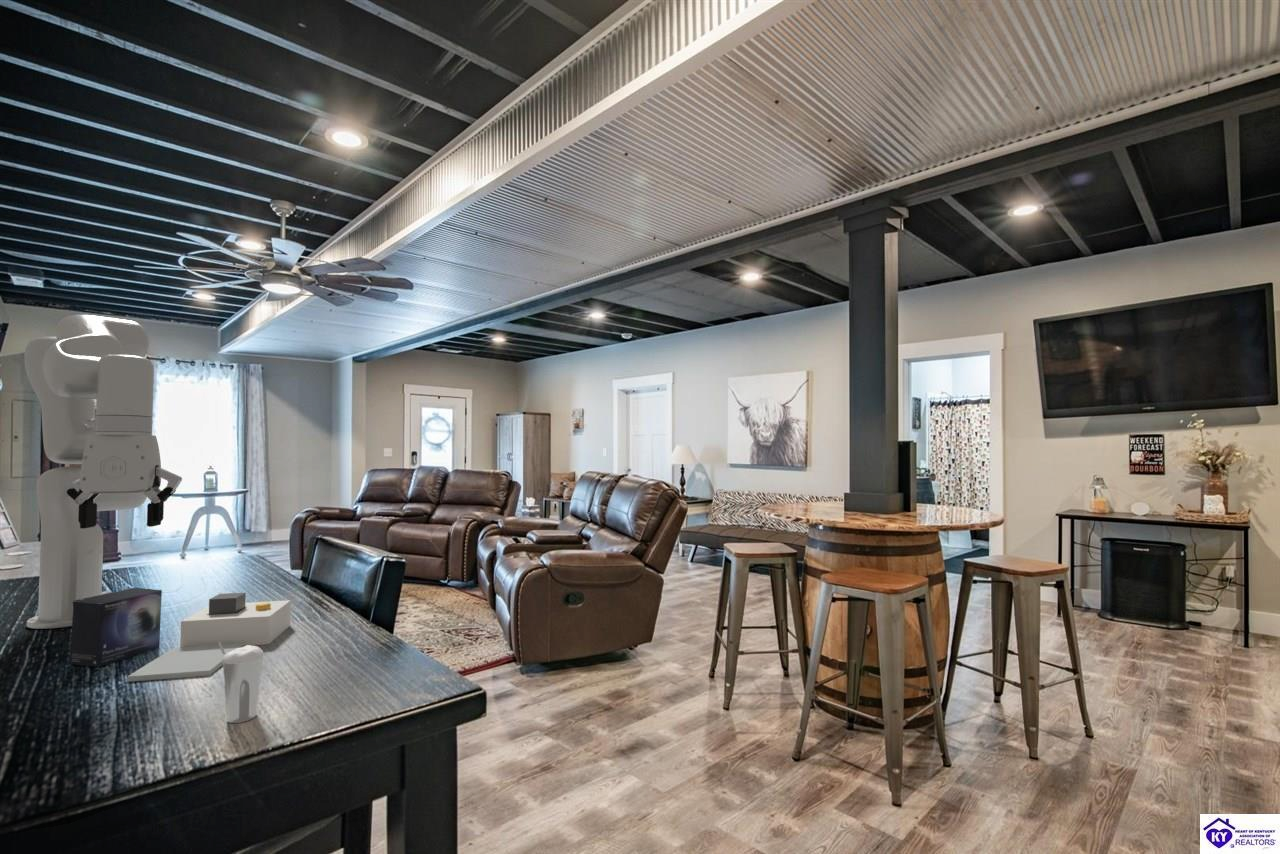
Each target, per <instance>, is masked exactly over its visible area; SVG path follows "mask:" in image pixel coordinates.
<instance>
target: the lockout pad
mask: <svg viewBox="0 0 1280 854" xmlns="http://www.w3.org/2000/svg"><path fill="white" fill-rule="evenodd" d="M221 645H222V647H223V649H224V651H225V654H227V653H228V652H230V651H233V650H234V649H236V648H242V647H244V646H245V643H235V644H221ZM223 657H224V656H223V653H222V651H221V649H220V646H219V645H204V646H188V647H180V646H174V647H172V648H171V649H169V650H168V651H166V652H164V653H163V654H161V655H160V656H158V657H156V658H155V659H153V660H151V661H149V662H148V663H146V664H145V665H143V666H142V667H141V668H138V669H137V670H135V671H133V672H132V673H131V674H129V675H127V677H126V680H127V683H129V682H141V681H143V682H144V681H156V680H157V681H158V680H169V679H180V678H183V679H184V678H195V677H209V676H211V675H213V674H214V673H215V672H216V671H218V669H220V668H221V667H223V661H222V659H223Z"/></svg>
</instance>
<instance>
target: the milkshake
mask: <svg viewBox="0 0 1280 854" xmlns="http://www.w3.org/2000/svg"><path fill="white" fill-rule="evenodd" d="M218 644H219V646H220V649H221V651H222V653H223V656H224V657H223V659H222V661H223V665H222V668H223V669H222V670H223V681H224V682H223V683H224V695H225V697H224V698H225V713H226V714H225V715H226V722H228V723H230V724H240V723H241V724H242V723H244V722H245V723H246V722H249V721H250V720H252V719H255V718H256V716H257V714H258V713H257V711H258V701H259V693H260V682H261V676H262V669H263V667H262V666H263V660H264V659H263V658H264V651H263V650H262V649H261V647H259V646H258V645H246V646H244V647H242V648H236V649H234V650H233V651H230V652H228V653H227V654H225V651H224V649H223V647H222V645H221V642H218Z"/></svg>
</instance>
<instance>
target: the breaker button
mask: <svg viewBox="0 0 1280 854" xmlns="http://www.w3.org/2000/svg"><path fill="white" fill-rule="evenodd" d="M246 596H247V595H246V592H232V593H231V592H230V593H218V594H217V595H215V596H213V597H211V598H210V599H209V600H208V606H209V615H218V614H236V613H239V612H240V611H242V610H243V609H245V603H246V598H247V597H246Z"/></svg>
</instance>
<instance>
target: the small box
mask: <svg viewBox="0 0 1280 854" xmlns="http://www.w3.org/2000/svg"><path fill="white" fill-rule="evenodd" d="M162 595H163V591H162V589H152V588H145V587H144V588H142V587H131V588H127V589H122V590H117V591H112V592H109V593H107V594H103V595H98V596H93V597H88V598H84V599H79V600H74V601H73V618H72V626H71V638H70V639H71V640H70V654H69V661H68V664H69V665H75V666H85V667H93V668H94V667H95V668H98V667H102V666H106V665H109V664H111V663H115V662H118V661H121V660H125V659H127V658H131V657H134V656H138V655H140V654H144V653H147V652H150V651H154V650H156V649H160V641H161V640H160V639H161V637H160V635H161V618H162V617H161V615H162Z"/></svg>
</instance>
